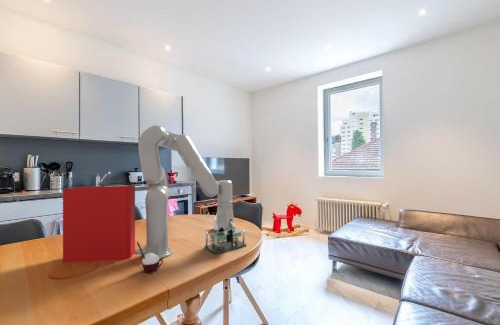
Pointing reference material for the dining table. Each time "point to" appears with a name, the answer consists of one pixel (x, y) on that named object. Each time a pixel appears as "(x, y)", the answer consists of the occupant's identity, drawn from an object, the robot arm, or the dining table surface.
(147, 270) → the cocoa
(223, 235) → the board
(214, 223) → the bracket
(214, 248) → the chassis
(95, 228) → the book
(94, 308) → the dining table surface
